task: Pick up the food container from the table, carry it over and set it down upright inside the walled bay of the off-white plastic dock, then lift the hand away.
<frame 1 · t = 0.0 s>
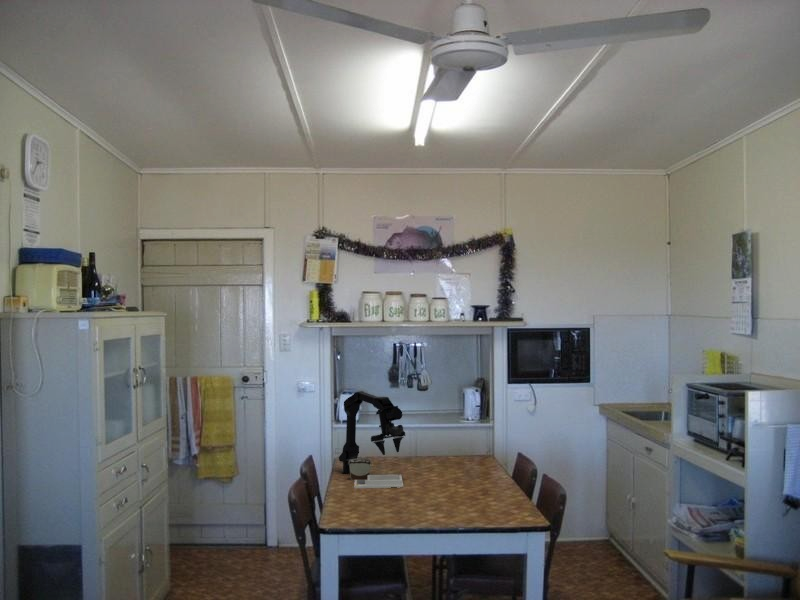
hand: (391, 453, 321), 15 cm above the table, tool pointing down, fingers open, 9 cm apart
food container: (360, 479, 332), on the table
dock: (378, 484, 320), on the table
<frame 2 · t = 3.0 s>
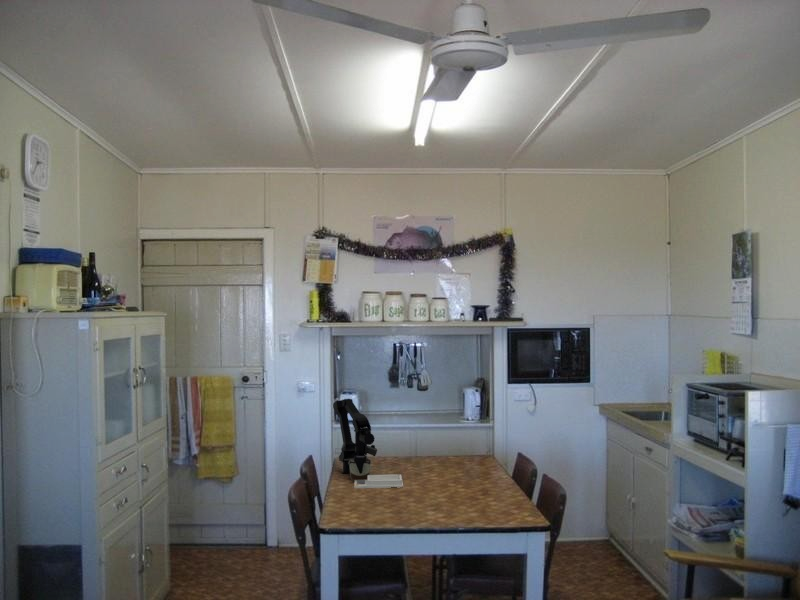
hand: (360, 471, 332), 4 cm above the table, tool pointing down, fingers closed on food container, 6 cm apart
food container: (360, 479, 332), on the table, touching gripper
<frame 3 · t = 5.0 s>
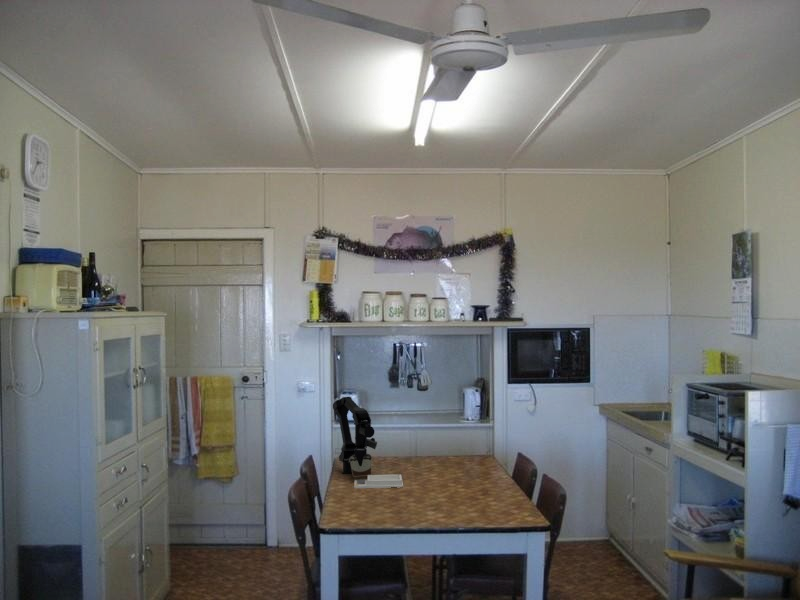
hand: (360, 464, 332), 7 cm above the table, tool pointing down, fingers closed on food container, 6 cm apart
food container: (362, 473, 334), point 2 cm above the table, touching gripper
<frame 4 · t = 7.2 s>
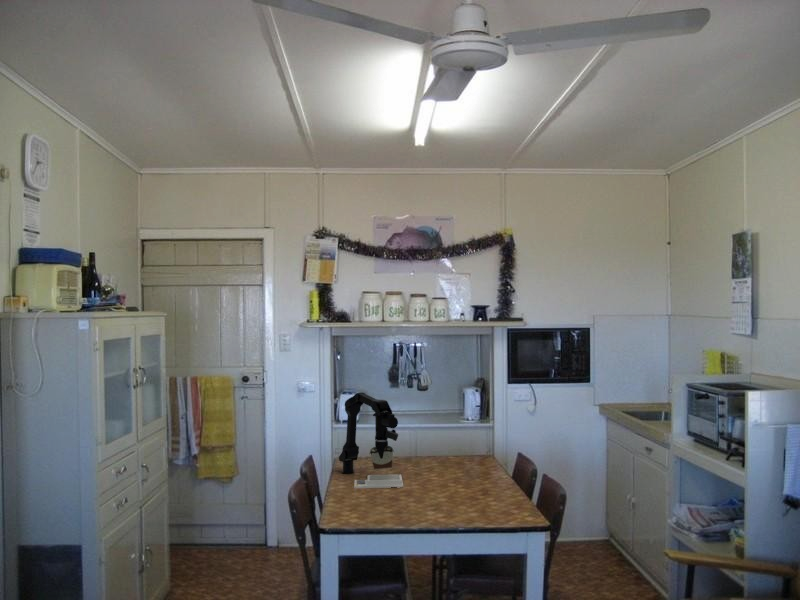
hand: (381, 457, 322), 13 cm above the table, tool pointing down, fingers closed on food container, 6 cm apart
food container: (382, 466, 324), point 8 cm above the table, touching gripper
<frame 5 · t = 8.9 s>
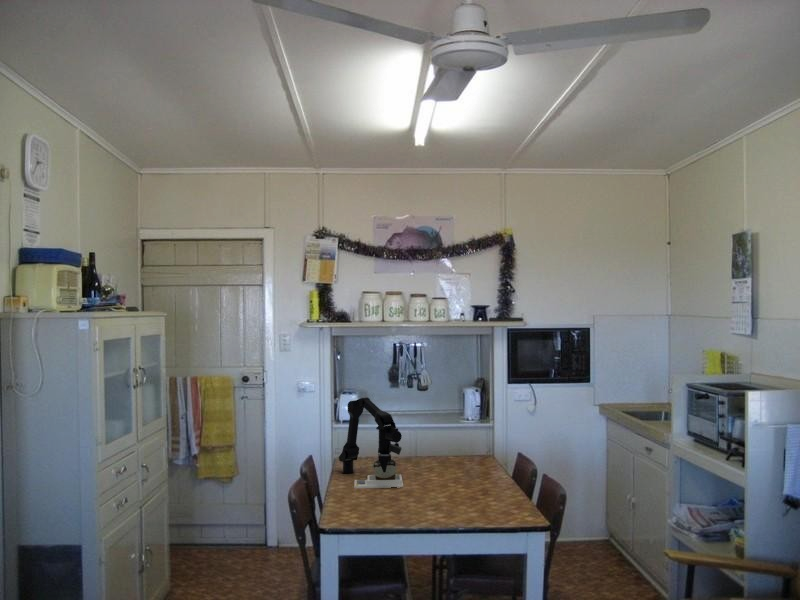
hand: (384, 470, 321), 7 cm above the table, tool pointing down, fingers closed on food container, 6 cm apart
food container: (385, 480, 322), point 2 cm above the table, touching gripper
when the fingers open (6 cm above the table, at t = 10.0 s): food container stays where it is, resting on dock.
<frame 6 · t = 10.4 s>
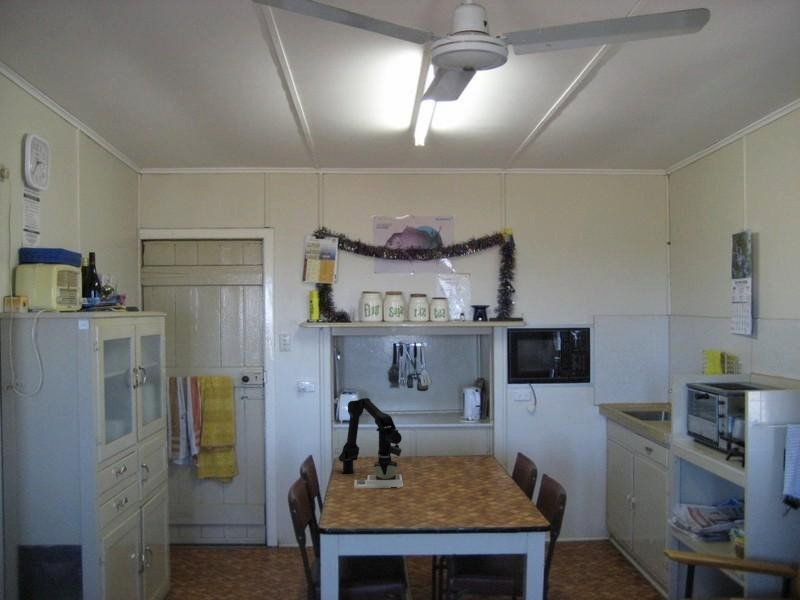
hand: (384, 472, 321), 6 cm above the table, tool pointing down, fingers open, 9 cm apart
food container: (385, 482, 322), point 1 cm above the table, touching dock, gripper
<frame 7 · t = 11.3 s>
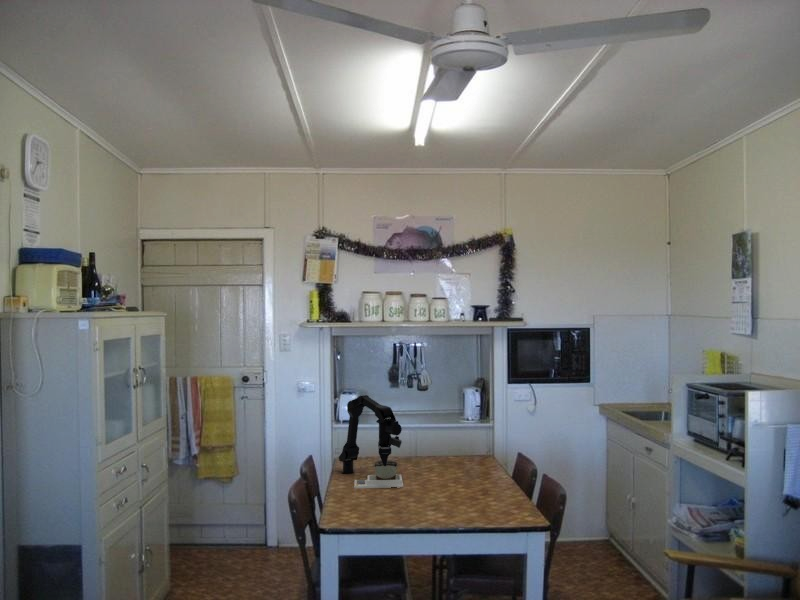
hand: (384, 464, 321), 10 cm above the table, tool pointing down, fingers open, 9 cm apart
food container: (385, 482, 322), point 1 cm above the table, touching dock
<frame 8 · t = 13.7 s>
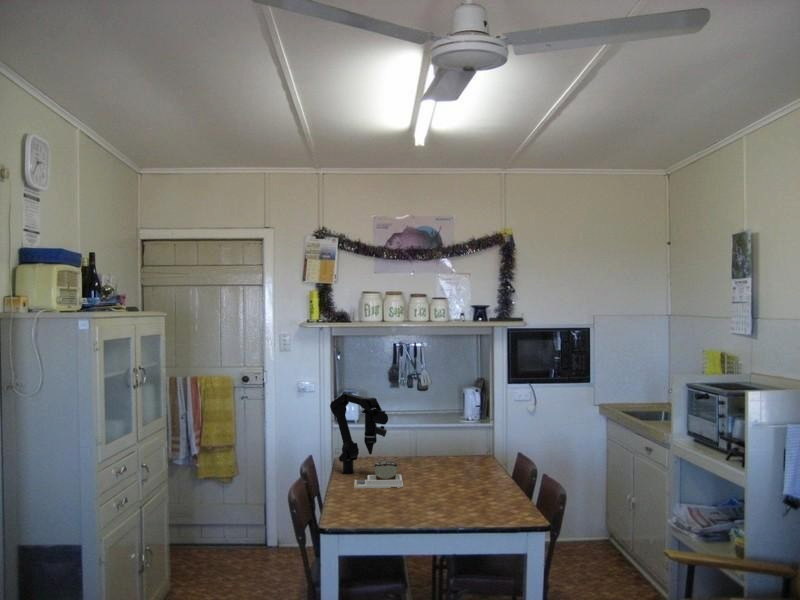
hand: (370, 452, 334), 13 cm above the table, tool pointing down, fingers open, 9 cm apart
nothing on the table moved.
at the end: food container 1.8 cm from the target spot on the dock, point 0.8 cm above the dock's base; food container tilted 0°; the gripper is holding nothing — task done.
